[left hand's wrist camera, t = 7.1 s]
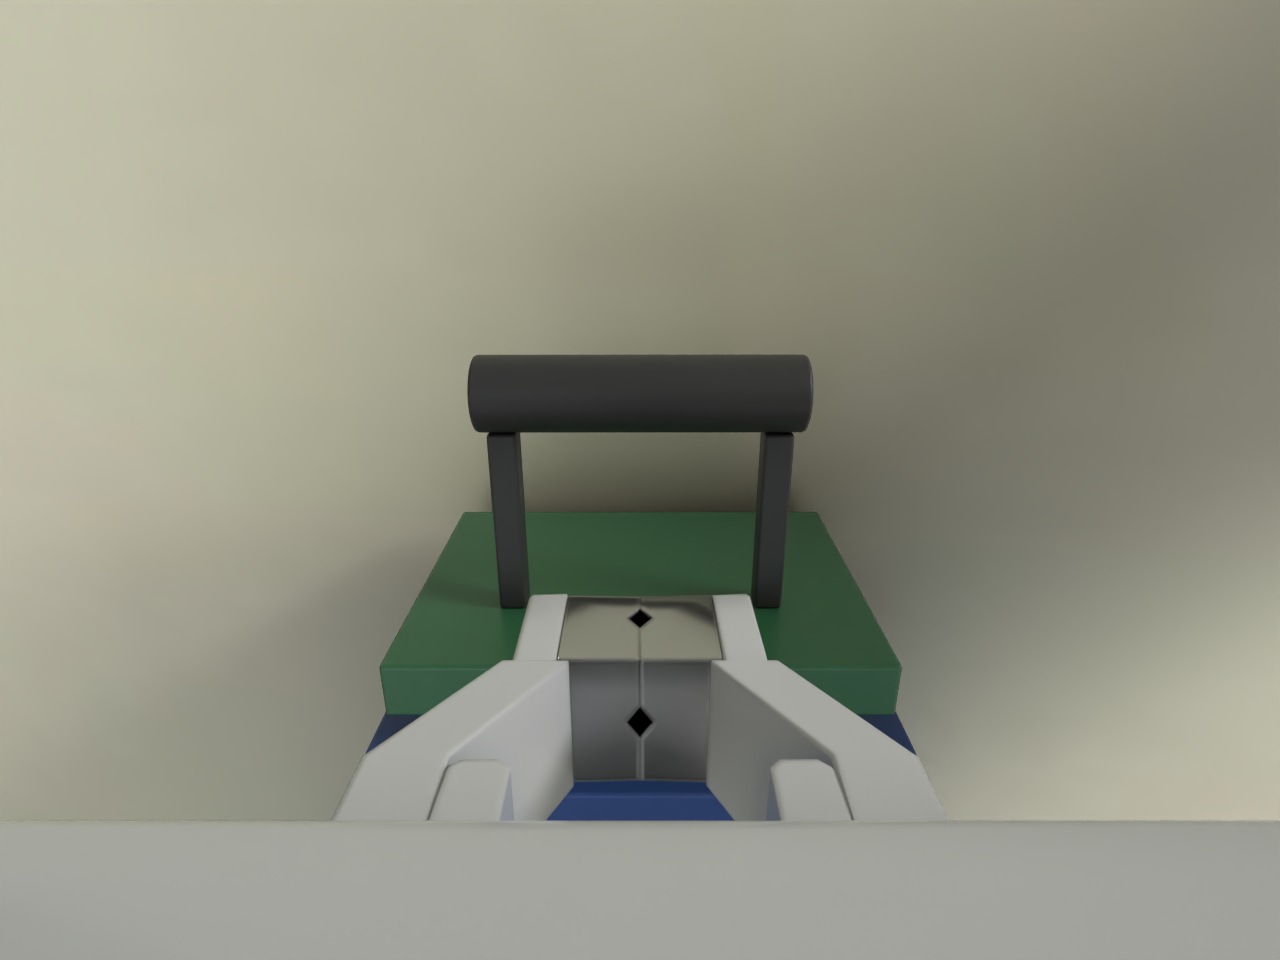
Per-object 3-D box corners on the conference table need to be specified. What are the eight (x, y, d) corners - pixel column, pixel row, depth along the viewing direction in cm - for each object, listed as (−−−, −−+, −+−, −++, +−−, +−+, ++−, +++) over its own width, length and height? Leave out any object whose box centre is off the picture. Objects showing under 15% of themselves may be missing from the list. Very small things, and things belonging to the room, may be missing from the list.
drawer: (444, 315, 19) (333, 386, 12) (836, 315, 19) (947, 385, 12) (496, 849, 26) (443, 1089, 19) (785, 849, 26) (838, 1089, 19)
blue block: (457, 562, 23) (342, 794, 14) (823, 562, 23) (938, 794, 14) (491, 897, 28) (424, 1219, 19) (789, 897, 28) (857, 1219, 19)
